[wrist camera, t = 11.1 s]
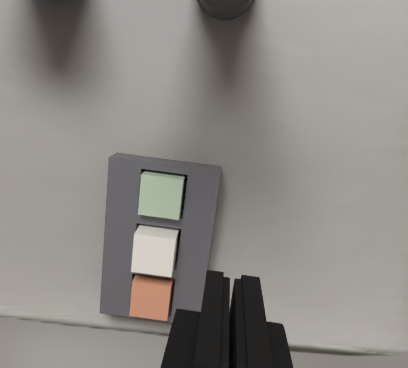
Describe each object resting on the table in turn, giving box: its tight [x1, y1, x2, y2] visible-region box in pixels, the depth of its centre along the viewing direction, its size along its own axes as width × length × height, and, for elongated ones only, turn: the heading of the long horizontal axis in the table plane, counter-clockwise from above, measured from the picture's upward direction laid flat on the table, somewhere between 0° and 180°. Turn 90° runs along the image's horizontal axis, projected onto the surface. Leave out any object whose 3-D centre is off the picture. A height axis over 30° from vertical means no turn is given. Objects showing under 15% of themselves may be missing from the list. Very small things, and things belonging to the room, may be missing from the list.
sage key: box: [138, 169, 186, 220], centre depth 37 cm, size 4×4×4 cm
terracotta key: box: [129, 274, 174, 321], centre depth 40 cm, size 4×4×4 cm
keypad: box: [100, 153, 221, 323], centre depth 39 cm, size 19×12×3 cm, turn 173°
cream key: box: [131, 224, 179, 277], centre depth 37 cm, size 4×4×4 cm
